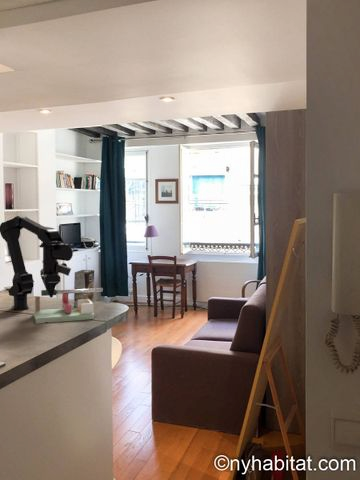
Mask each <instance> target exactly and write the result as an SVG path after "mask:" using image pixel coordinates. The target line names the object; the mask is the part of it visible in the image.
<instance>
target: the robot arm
mask: <svg viewBox="0 0 360 480" xmlns="http://www.w3.org/2000/svg"><path fill="white" fill-rule="evenodd" d="M23 229H25V230H27V231H29V232H30V233H32V234H34V235H35V236H37V239H38V240H40V241H41V242H42V243H41V244H40V245H38V248H42V260H41V261H42V269H40V270H39V271H40V277H41V281H42V283H43V285H44V288H45V290H47V291H48V294H49V296H48V297H49V298H53V297H54V295H53V294H54V290H56V286H57V285H58V284H60V282H61V276H60V275H59V273H60V274H63V275H65V276H70V273H71V271H72V268H71V267H69V266H68V264H67V263H65V262H62V263H61V264H60V263H59V261H66V262H69V261H71V260H72V258H73V256H74V252H73V250H72V248H71V247H70V244H69V243H65V242H64V240H63V238H62V236H61V234H60V231H59V230H58V229H56V228H54V227H50V226H49V227H48V226H44V225H42V224H40V223H38V222H36V221H34V220H32V219H31V218H29V217H28V216H26V215H17V216H15V217H14V218H13V217H12V219H11V218H10V219H9V220H6V221H2V222H1V223H0V236H1V238H2V239H3V241H5V242H6V244H7V248H8V252H9V257H10V260H11V261H10V262H11V265H12V269H13V274H14V275H13V277H12V279H11V280H12V286H11V287H10V288H9V289H8V295H9V296H12V297H13V305H12V310H13V311H18V310H29V305H28V295H31V294H32V293H33V289H34V286H35V284H34V283H35V280H34V278H33V277H34V276H33V273H29V272H27V269H26V264H25V261H24V257H23V253H22V248H21V245H20V240H19V239H20V238H21V230H23Z"/></svg>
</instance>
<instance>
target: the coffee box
mask: <svg viewBox="0 0 360 480" xmlns="http://www.w3.org/2000/svg"><path fill="white" fill-rule="evenodd" d="M93 288H95V270H94V269H81V270H78V271H75V272H74V285H73V290H74V289H93ZM83 294H87V299H90V300H91V302H92V303H93V304H95V292H87V293H73V308H77V307H78V300H81V299H83Z"/></svg>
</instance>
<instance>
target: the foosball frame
mask: <svg viewBox="0 0 360 480" xmlns="http://www.w3.org/2000/svg"><path fill="white" fill-rule="evenodd" d="M34 299H35V304H34V305H35V309H34V310H33V317H34V320H35V324H45V322H48V323H58V322H60V323H61V322H71V321H73V322H74V321H83V320H84V321H85V320H95V313H94V303H92V302H91V300H90V299H87V294H83V299H81V300H78V307H71V313H65V312H64V310H63V308H51V309H41V307H40V306H41V303H40V302H41V300H40V299H41V297H40V296H35V298H34ZM80 307H81V313H79V312H78V309H79V308H80Z"/></svg>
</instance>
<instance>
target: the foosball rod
mask: <svg viewBox="0 0 360 480" xmlns="http://www.w3.org/2000/svg"><path fill="white" fill-rule="evenodd" d="M103 290H104V288H103V287H98V288H95V287H94V288H93V289H74V288H73V289H61V290H60V289H55V290H54V294H53V296H57V295H61V302H62V308H63V310H64V312H65V313H71V308H72V304H71V302H69V294H74V293H87V292H94V293H100V292H103ZM40 295H41V297H45V296H46V297H47V296H48V297H50V296H49V294H48V291H47V290H46V289H41V291H40ZM62 308H61V309H62Z"/></svg>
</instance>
